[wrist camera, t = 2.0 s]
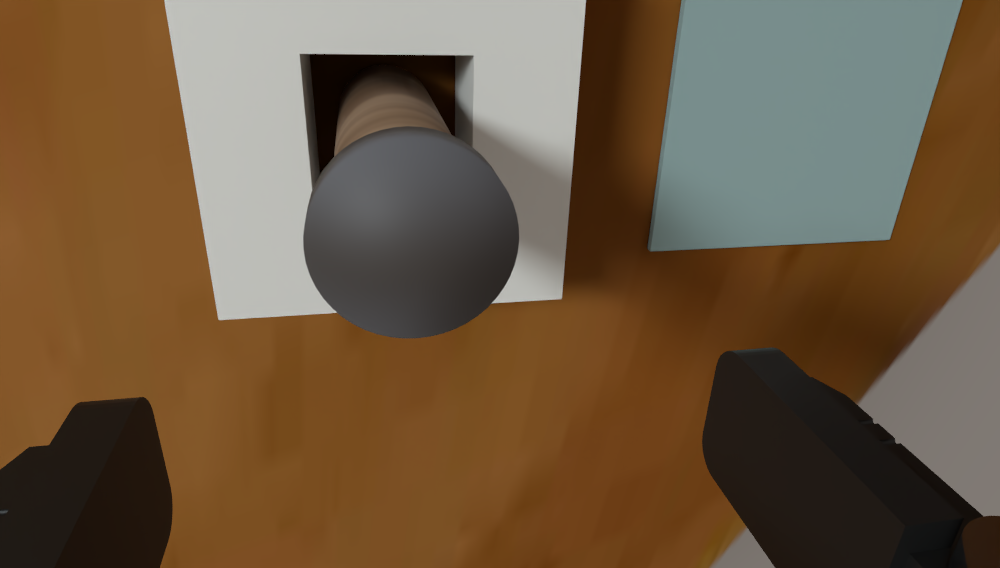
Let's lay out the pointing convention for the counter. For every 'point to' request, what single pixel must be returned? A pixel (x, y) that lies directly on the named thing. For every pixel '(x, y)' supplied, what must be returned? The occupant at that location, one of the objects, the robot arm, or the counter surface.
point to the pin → (406, 215)
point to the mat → (794, 119)
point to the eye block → (293, 140)
